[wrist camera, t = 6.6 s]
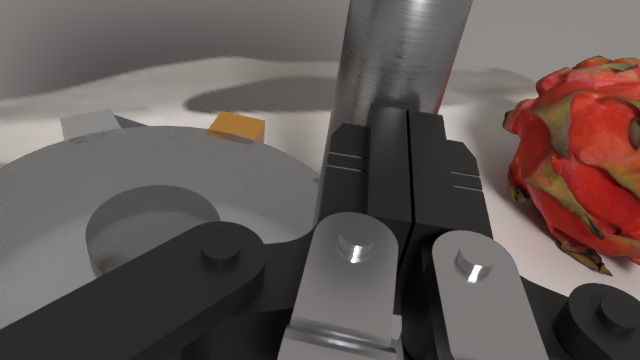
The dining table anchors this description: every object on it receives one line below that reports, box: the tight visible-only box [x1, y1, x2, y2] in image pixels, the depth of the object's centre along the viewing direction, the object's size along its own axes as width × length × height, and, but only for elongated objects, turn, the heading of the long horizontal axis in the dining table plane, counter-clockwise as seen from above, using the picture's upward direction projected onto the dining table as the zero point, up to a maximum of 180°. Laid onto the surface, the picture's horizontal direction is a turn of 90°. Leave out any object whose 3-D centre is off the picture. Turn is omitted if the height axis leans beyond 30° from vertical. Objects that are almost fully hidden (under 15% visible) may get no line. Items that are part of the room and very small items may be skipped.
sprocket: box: [0, 0, 473, 349], centre depth 14 cm, size 17×17×16 cm
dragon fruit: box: [503, 56, 640, 276], centre depth 25 cm, size 8×8×12 cm
